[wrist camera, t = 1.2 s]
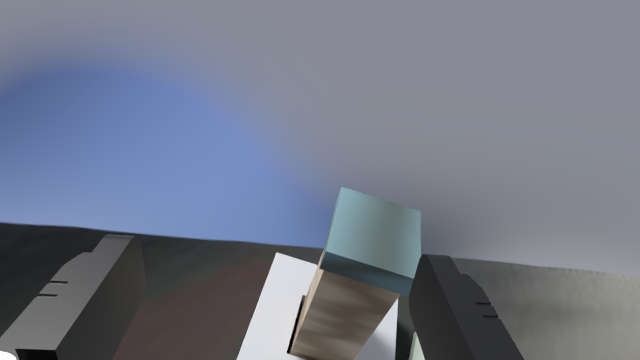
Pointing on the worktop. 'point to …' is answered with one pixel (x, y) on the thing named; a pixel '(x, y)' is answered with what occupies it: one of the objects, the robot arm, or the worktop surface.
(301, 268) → the white square stand
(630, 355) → the worktop surface
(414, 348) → the pad
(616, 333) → the worktop surface
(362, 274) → the plug
